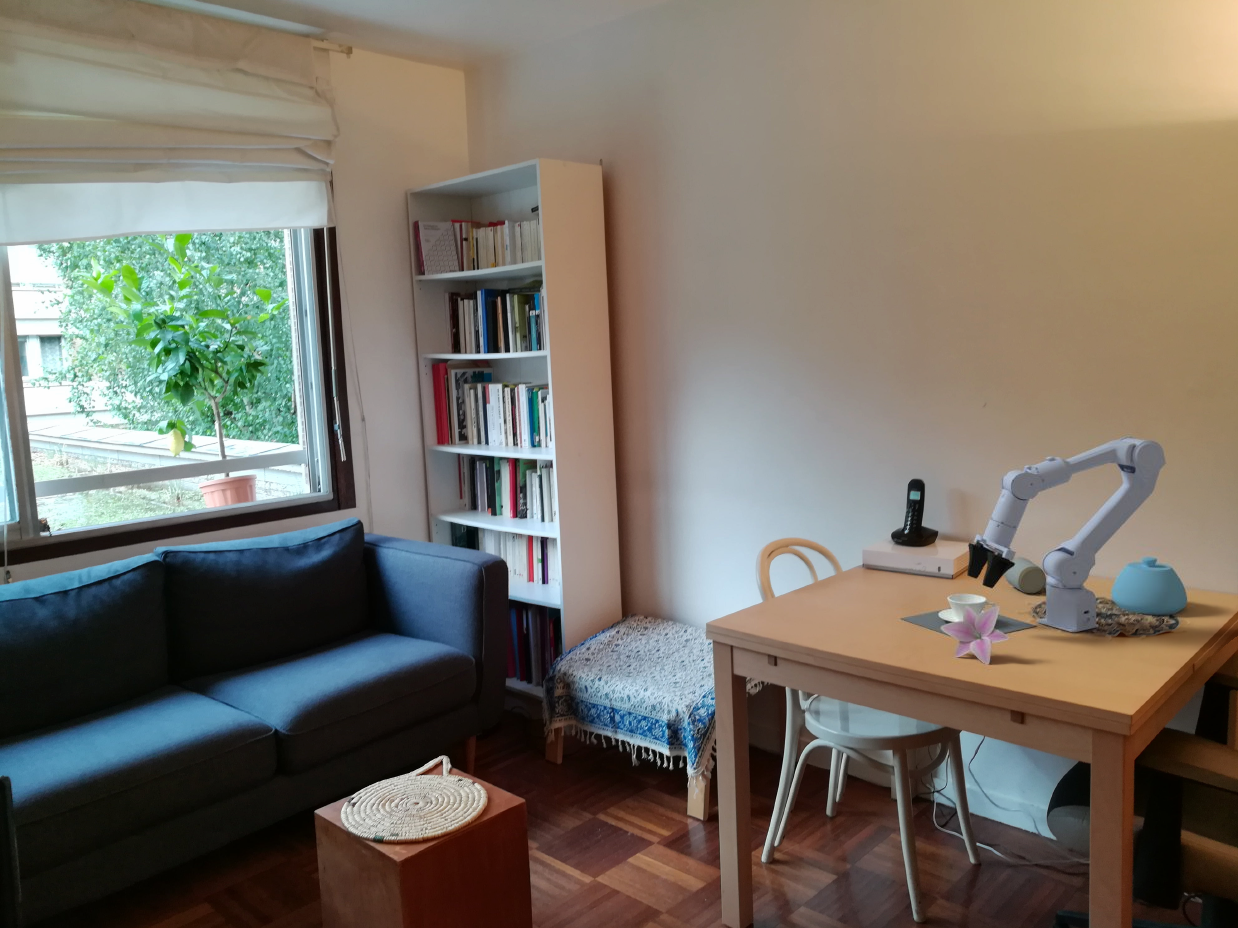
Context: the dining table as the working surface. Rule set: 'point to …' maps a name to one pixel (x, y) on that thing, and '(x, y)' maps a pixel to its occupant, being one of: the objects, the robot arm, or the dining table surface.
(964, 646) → the lily
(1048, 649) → the dining table surface
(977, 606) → the teacup
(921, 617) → the label mat
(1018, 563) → the ceramic mug
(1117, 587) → the sugar bowl
